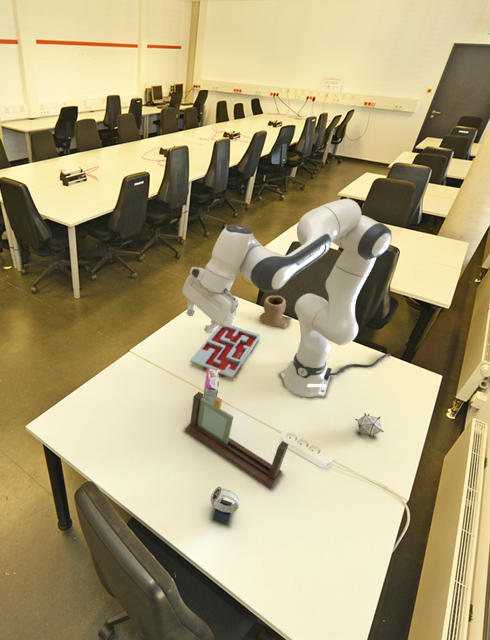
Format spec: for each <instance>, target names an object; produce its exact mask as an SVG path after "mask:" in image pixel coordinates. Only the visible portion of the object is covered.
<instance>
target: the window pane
mask: <svg viewBox="0 0 490 640" xmlns="http://www.w3.org/2000/svg"><path fill="white" fill-rule="evenodd" d="M222 402H223V399H222V398H220V397H218V396H217V397H216V398H215V400H214V405H213V404H211V403H210V402H208V401H206V400H205V399H203V398H202V399H201V402H200V409H199V416H198V423H197V426H198V427H199V428H201V429H203V430H204V431H206V432H207V433H209V434H210V435H212V436H213V437H215V438H216V439H218V440H219V441H221V442H223V443H224V444H226V445H227V444H228V440H229V438H230V434H231V430H232V426H233V422H234V416H233V415H231V414H230V413H228V412H227V411H225V410H223V409H222V404H223V403H222Z"/></svg>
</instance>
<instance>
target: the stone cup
mask: <svg viewBox="0 0 490 640" xmlns="http://www.w3.org/2000/svg"><path fill="white" fill-rule="evenodd" d="M286 308H287V301H286V299H285V298H284V297H283V296H281V295H273V294H272V295H269V296H267V297H266V298H265V299H264V301H263V311H264V312H262V313H261V314H260V315H259V318H258V319H259V321H260V323H262V324H265V325H268V326H269V325H270V326H274V327H279V328H285V329H286V327H287V326H289V324H290V323H291V321H292V317H289V316H285V315H283V314H284V313H285V310H286Z"/></svg>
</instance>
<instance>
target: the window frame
mask: <svg viewBox="0 0 490 640" xmlns="http://www.w3.org/2000/svg"><path fill="white" fill-rule="evenodd" d="M203 395H204V393H203V392H200V391H198V392H196V393H195V394H194V395H193V399H192V407H191V415H190V423H189V424H188V425H187V426H186V427H185V430H184V432H185V433H186V434H188V435H189V436H191V437H193V438H194V439H195V440H196V441H199V442H200V443H201V444H203V445H204V446H205V447H207V448H208V449H210V450H212V451H214V452H215V453H216V454H218V455H219V456H221V457H222V458H224V459H225V460H227V461H228V462H229V463H231V464H233V465H234V466H236V467H237V468H239V470H241V471H243V472H245V473H246V474H247V475H248V476H251V477H252V478H254V480H257V481H258V482H260V483H261V484H263V486H265V487H266V488H268V489H270V490H271V489H272V488H273V487H274V485H275V484H276V483H277V481H278V479H279V478H280V477H281V475H282V472H283V470H281V467H282V464H283V462H284V459H285V455H286V453H287V451H288V448H289V443H287V442H286V441H283V440H282V441H281V442H280V443H279V444H278V445H277V448H276V451H275V455H274V458H273V461H272V464H271V463H270V462H268V461H267V460H265V459H264V458H263V457H260V456H259V455H257V454H256V453H254V452H252V451H251V450H250V449H248V448H246V447H245V446H243V445H242V444H240V443H239V442H237V441H235V440H234V439H232V438H231V437H229V440H228V444H227V445H226V444H224V443H223V442H221V441H219V440H218V439H216V438H215V437H213V436H212V435H210V434H209V433H207V432H206V431H204V430H203V429H201V428H199V427H198V426H197V423H198V416H199V409H200V402H201V399H202V398H203Z"/></svg>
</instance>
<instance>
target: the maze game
mask: <svg viewBox="0 0 490 640" xmlns="http://www.w3.org/2000/svg"><path fill="white" fill-rule="evenodd" d="M260 338H261V334H259V333H256V332H253V331H251V330H247V329H244V328H241V327H238V326H235V325H232V324H231V325H230V326H228V327H220V326H219V325H218V326H217V328H216V329H215V330H214V331H213V332H212V334H211V335H210V336H209V337H208V338H207V339H206V341H205V342H204V343H203V344H202V346H201V347H200V348H199V349H198V350H197V351H196V352H195V354H194V355H193V356H192V357H191V358H190V360H189V362H190V363H192V364H195V365H197V366H200V367H203V369H204V370H205V371H207V368H211V369H218V370H220V377H224V376H225V377H228V378H230V379H233V378H234V377H235V375H236V374H237V372H238V371H239V369H240V368H241V366H242V364H243V363H244V362H245V360H246V359H247V357H248V356H249V354H250V353H251V351H252V350H253V348H254V347H255V346H256V344H257V342H258V341H259V339H260Z"/></svg>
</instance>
